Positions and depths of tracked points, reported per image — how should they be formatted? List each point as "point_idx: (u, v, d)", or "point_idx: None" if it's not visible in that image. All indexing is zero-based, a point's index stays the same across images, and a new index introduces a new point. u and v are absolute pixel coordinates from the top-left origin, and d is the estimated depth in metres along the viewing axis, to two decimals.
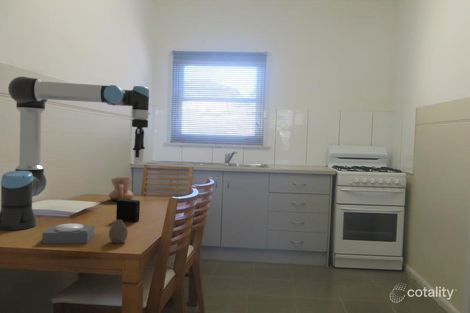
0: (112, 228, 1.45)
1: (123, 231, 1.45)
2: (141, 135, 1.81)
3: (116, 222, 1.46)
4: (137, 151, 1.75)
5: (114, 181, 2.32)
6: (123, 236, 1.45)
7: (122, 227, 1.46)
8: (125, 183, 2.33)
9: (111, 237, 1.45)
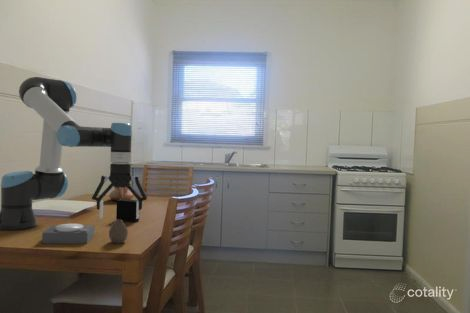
0: (112, 228, 1.45)
1: (123, 231, 1.45)
2: None
3: (116, 222, 1.46)
4: None
5: None
6: (123, 236, 1.45)
7: (122, 227, 1.46)
8: None
9: (111, 237, 1.45)
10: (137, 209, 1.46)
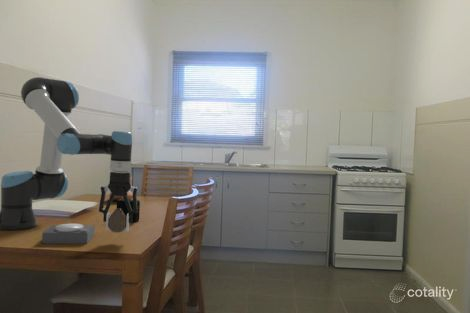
0: (111, 217, 1.45)
1: (122, 220, 1.45)
2: None
3: (116, 211, 1.46)
4: None
5: None
6: (122, 225, 1.45)
7: (121, 216, 1.46)
8: None
9: (110, 226, 1.45)
10: (127, 222, 1.47)
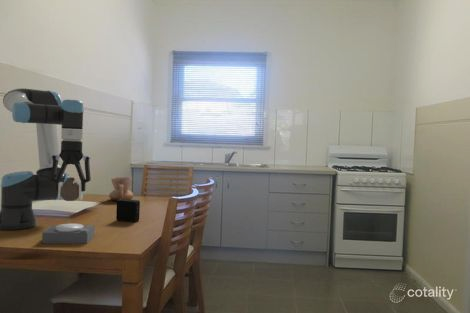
0: (63, 185, 1.45)
1: (74, 188, 1.45)
2: None
3: (68, 179, 1.46)
4: None
5: (114, 181, 2.32)
6: (74, 193, 1.45)
7: (74, 184, 1.46)
8: (125, 183, 2.33)
9: (62, 194, 1.45)
10: (79, 191, 1.47)
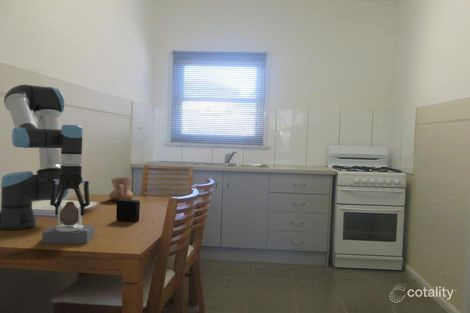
0: (63, 210, 1.46)
1: (74, 213, 1.46)
2: None
3: (67, 204, 1.46)
4: None
5: (114, 181, 2.32)
6: (73, 218, 1.46)
7: (73, 209, 1.46)
8: (125, 183, 2.33)
9: (62, 219, 1.45)
10: (79, 215, 1.47)
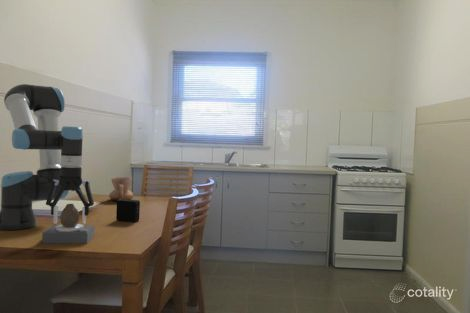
0: (63, 212, 1.46)
1: (74, 215, 1.46)
2: None
3: (67, 206, 1.47)
4: None
5: (114, 181, 2.32)
6: (73, 220, 1.46)
7: (73, 211, 1.46)
8: (125, 183, 2.33)
9: (62, 221, 1.45)
10: (83, 215, 1.48)
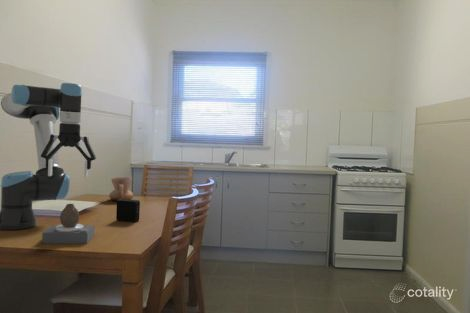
0: (63, 212, 1.46)
1: (74, 215, 1.46)
2: None
3: (67, 206, 1.47)
4: None
5: (114, 181, 2.32)
6: (73, 220, 1.46)
7: (73, 211, 1.46)
8: (125, 183, 2.33)
9: (62, 221, 1.45)
10: (85, 168, 1.51)
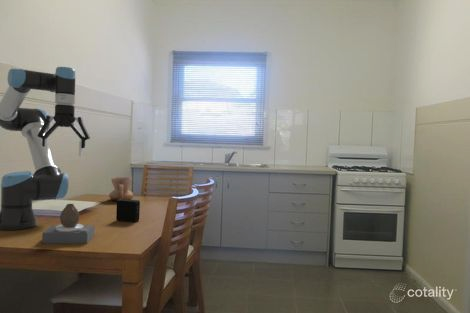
0: (63, 212, 1.46)
1: (74, 215, 1.46)
2: None
3: (67, 206, 1.47)
4: None
5: (114, 181, 2.32)
6: (73, 220, 1.46)
7: (73, 211, 1.46)
8: (125, 183, 2.33)
9: (62, 221, 1.45)
10: (80, 147, 1.60)
